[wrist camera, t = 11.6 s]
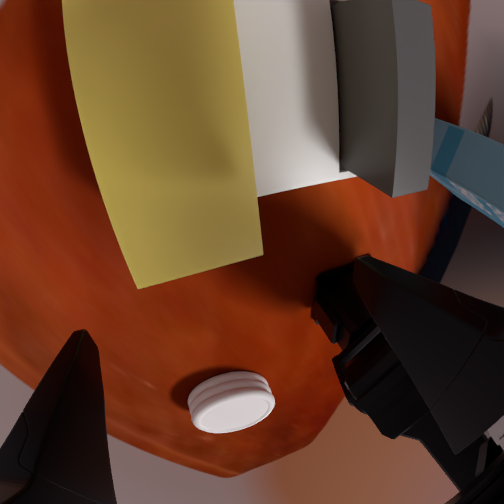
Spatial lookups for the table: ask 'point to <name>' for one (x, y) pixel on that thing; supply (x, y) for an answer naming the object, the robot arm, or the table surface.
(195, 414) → the coaster
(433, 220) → the table surface
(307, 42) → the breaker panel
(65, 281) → the table surface
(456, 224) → the table surface
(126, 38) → the pale yellow pad
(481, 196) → the data package
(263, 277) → the table surface
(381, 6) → the block
